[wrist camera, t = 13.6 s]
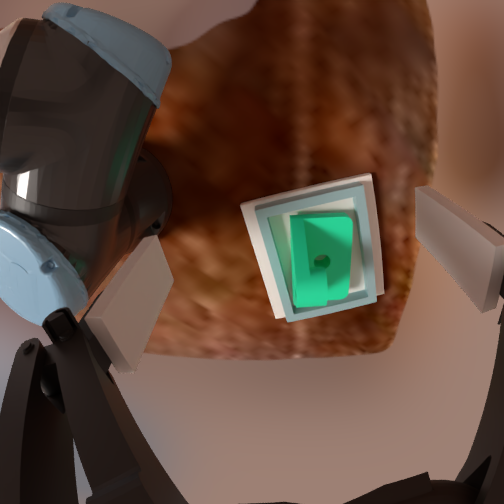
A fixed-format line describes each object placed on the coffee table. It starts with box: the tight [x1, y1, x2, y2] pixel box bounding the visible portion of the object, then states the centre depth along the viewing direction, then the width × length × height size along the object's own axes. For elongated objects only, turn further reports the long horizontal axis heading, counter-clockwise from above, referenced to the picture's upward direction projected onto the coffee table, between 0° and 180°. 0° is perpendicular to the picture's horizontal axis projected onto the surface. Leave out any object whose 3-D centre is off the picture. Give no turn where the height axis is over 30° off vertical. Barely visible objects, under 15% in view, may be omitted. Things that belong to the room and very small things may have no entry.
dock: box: [240, 173, 384, 322], centre depth 40 cm, size 17×18×3 cm
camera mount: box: [290, 212, 353, 308], centre depth 36 cm, size 12×8×10 cm, turn 5°
